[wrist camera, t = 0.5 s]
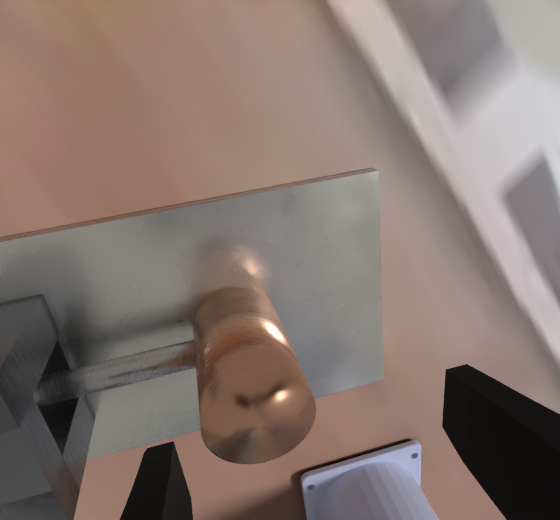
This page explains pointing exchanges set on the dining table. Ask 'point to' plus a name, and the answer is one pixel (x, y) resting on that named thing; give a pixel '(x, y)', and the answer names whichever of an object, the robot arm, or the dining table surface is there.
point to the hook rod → (218, 378)
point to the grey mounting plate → (174, 317)
